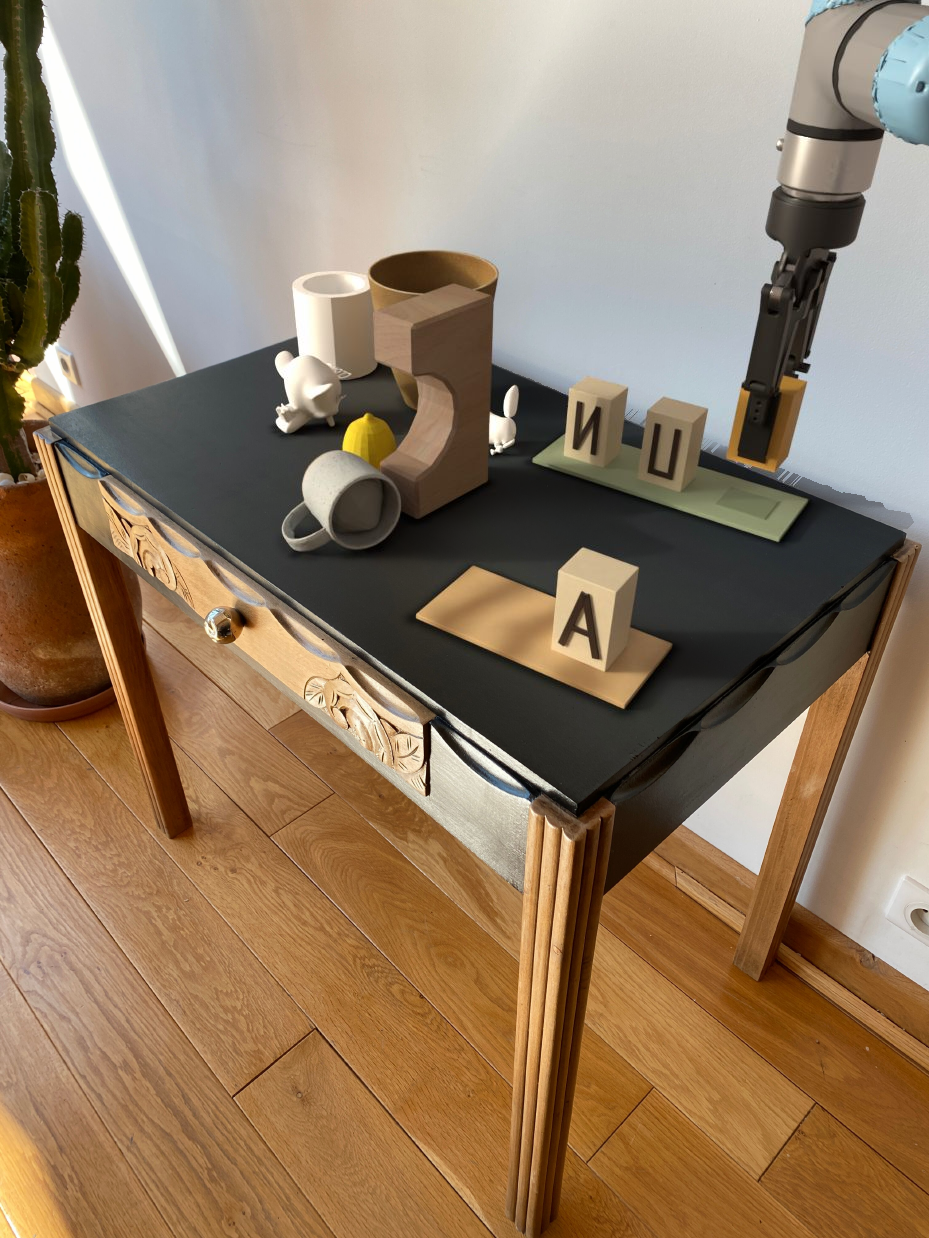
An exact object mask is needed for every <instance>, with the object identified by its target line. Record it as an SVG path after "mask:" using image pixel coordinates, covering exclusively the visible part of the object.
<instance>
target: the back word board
mask: <svg viewBox="0 0 929 1238" xmlns="http://www.w3.org/2000/svg"><path fill="white" fill-rule="evenodd" d="M565 436H566V432H564V434H562V435H561V436H560V437H558V439H556V440H555V441H553V442H552V443H551V444H550V445H548V446H547V447H546V448H545V449H543V450H542V451H541V452H539V453H538V454H537V455H535V456H534V457H533V458H532V463H534V464H537V465H540V466H542V467H546V468H549V469H552V470H555V471H558V472H561V473H564V474H567V475H570V476H573V477H577V478H578V479H579V478H580V479H582V480H585V481H589V482H592V483H595V484H598V485H601V486H603V487H607V488H610V489H612V490H613V489H614V490H617V491H619V492H622V493H626V494H629V495H632V496H636V497H638V498H642V499H644V500H647V501H651V502H652V503H653V502H654V503H657V504H660V505H662V506H666V507H669V508H672V509H675V510H678V511H681V512H685V513H687V514H691V515H693V516H697V517H699V518H703V519H706V520H710V521H713V522H716V523H719V524H721V525H724V526H728V527H731V528H734V529H737V530H740V531H743V532H746V533H749V534H753V535H755V536H758V537H762V538H765V539H768V540H771V541H774V542H777V543H780V541H781V540H782V539H783V537H784V536H785V535H786V533H788V530H789V529H790V527H792V525H793V524H794V522H795V521H796V519H798V517H799V516H800V514H801V513H802V511H804V509H805V507H806V506H807V505H808V503H809V498H805V497H802V496H799V495H795V494H792V493H789V492H785V491H783V490H780V489H775V488H772V487H769V486H765V485H762V484H758V483H755V482H753V481H749V480H745V479H743V478H739V477H736V476H732V475H728V474H725V473H721V472H718V471H716V470H712V469H708V468H705V467H702V466H697V471H696V476H695V478H694V479H693V480H692V481H691V482H690V483H689V484H688V485H687V486H686V487H685V488H684V489H683V490H682V491H681V492H677V491H674V490H671V489H668V488H665V487H661V486H658V485H655V484H652V483H649V482H646V481H642V480H639V479H637V478H638V471H639V464H640V457H641V450H642V448H638V447H635V446H631V445H629V444H625V443H622V442H621V448H620V454H619V455H618V456H617V457H616V458H615V459H613V460H612V461H611V462H610V463H609V464H608V465H607V466H605V467H604V468H601V467H598V466H595V465H592V464H589V463H586V462H582V461H579V460H576V459H573V458H570V457H567V456H564V447H565Z"/></svg>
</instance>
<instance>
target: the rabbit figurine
mask: <svg viewBox="0 0 929 1238" xmlns="http://www.w3.org/2000/svg"><path fill="white" fill-rule="evenodd" d="M519 395H520V394H519V387H518V386H517V385H516V384H514V385H512V386H511V387H510V388H509V389H508V390H507V392H506V393H505V397H504V400H503V412H504V413H503V414H504V416H505V417H501V416H499V415H497V414H494V413H493V412H492V411H490V429H489V445H494V448H495V449H492V448H491V449H490V454H491V455H492V456H493V455H496V453H499V454H501V453H503V451H504V449H508V448H509V447H512V446H514V444H515V437H516V434H517V427H516V426H517V425H516V423H515V421H514V419H512V418H513V417H515V415H516V413H517V410H518V403H519Z"/></svg>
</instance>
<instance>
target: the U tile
mask: <svg viewBox="0 0 929 1238" xmlns="http://www.w3.org/2000/svg"><path fill="white" fill-rule="evenodd" d="M708 413H709V408H708V407H705V406H700V405H696V404H692V403H689V402H686V401H681V400H678V399H675V398H671V397H667V396H663V397H661V398H660V399H659V400H657V401H656V402H655V403H654V404H653V405H652V406H650V407H649V408H648V409H647V410H646V416H645V424H644V429H643V430H644V431H643V436H642V437H643V438H642V445H641V449H642V450H641V457H640V464H639V471H638V478H637V479H639V480H642V481H646V482H649V483H652V484H655V485H658V486H661V487H665V488H668V489H671V490H674V491H677V492H681V491H682V490H683V489H684V488H685V487H686V486H687V485H688V484H689V483H690V482H691V481H692V480H693V479H694V478H695V476H696V471H697V466H698V465H699V461H700V460H699V459H700V455H701V450H702V445H703V439H704V434H705V429H706V423H707V419H708Z"/></svg>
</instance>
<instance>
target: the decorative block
mask: <svg viewBox="0 0 929 1238" xmlns="http://www.w3.org/2000/svg"><path fill="white" fill-rule="evenodd" d="M494 302H495V298H494V299H493V297H492V296H491V295H488V294H485V293H482V292H479V291H476V290H473V289H470V288H466V287H463V286H460V285H457V284H451V285H448V286H445V287H442V288H439V289H436V290H434V291H431V292H428V293H425V294H422V295H419V296H416V297H413V298H410V299H408V300H405V301H402V302H399V303H396V304H393V305H390V306H387V307H384V308H381V309H378V310H376V311H375V312H374V313H373V323H374V347H375V360H376V361H377V363H378V364H381V365H383V366H386V367H388V368H394V369H396V370H398V371H401V372H403V373H406V374H408V375H411V376H413V377H414V378H415V379H416V380H417V387H418V393H419V399H418V409H417V410H416V414H415V416H414V419H413V421H412V424H411V426H410V428H409V430H408V433H407V434H406V436H405V437H404V438H403V440H402V441H401V443H400V444H399V445H398V447H397V448H396V451H395V452H393V453H392V454H391V455H389V456H388V457H386V458H385V459H384V460H382V461H381V462H380V472H381V473H382V474H384V475H385V476H386V477H388V478H389V479H390V480H392V481H393V483H394V484H395V485H396V487H397V488H398V491H399V493H400V497H401V512H402V513H404V514H406V515H407V516H410V517H412V518H414V519H415V520H420V519H421V518H423V517H425V516H427V515H428V514H431V513H432V512H434V511H436V510H438V509H440V508H441V507H443V506H444V505H446V504H448V503H450V502H452V501H454V500H456V499H457V498H460V497H461V496H463V495H465V494H467V493H469V492H470V491H472V490H475V489H476V488H478V487H480V486H481V485H483V484H485V483H487V482H488V481H489V458H490V457H489V455H490V453H489V452H490V444H489V429H490V412H491V397H492V396H491V395H492V394H491V393H492V371H493V369H492V368H493V366H492V365H493V338H494V337H493V336H494V335H493V334H494V309H495V307H494V306H495V304H494Z"/></svg>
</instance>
